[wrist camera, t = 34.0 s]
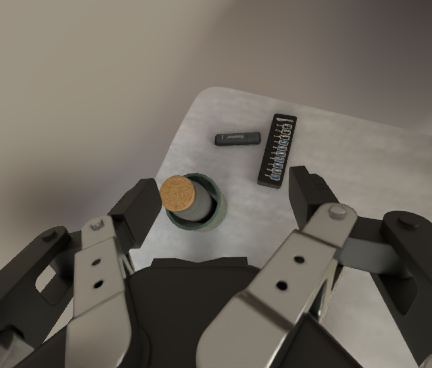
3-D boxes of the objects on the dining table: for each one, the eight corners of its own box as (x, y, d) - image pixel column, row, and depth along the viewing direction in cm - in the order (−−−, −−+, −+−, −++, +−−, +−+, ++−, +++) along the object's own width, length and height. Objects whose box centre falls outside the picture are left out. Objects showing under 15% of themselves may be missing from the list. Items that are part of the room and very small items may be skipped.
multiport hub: (256, 184, 41) (257, 180, 39) (273, 119, 44) (274, 112, 42) (279, 189, 40) (281, 186, 38) (295, 122, 43) (297, 116, 41)
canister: (208, 175, 43) (198, 162, 36) (236, 211, 40) (232, 205, 33) (172, 204, 43) (154, 196, 35) (198, 241, 40) (185, 242, 33)
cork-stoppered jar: (186, 221, 41) (150, 212, 27) (191, 192, 42) (159, 169, 28) (215, 225, 40) (194, 218, 26) (219, 195, 41) (201, 172, 27)
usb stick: (260, 133, 44) (260, 130, 42) (260, 145, 43) (261, 142, 41) (215, 136, 45) (214, 132, 44) (215, 147, 45) (214, 144, 43)
